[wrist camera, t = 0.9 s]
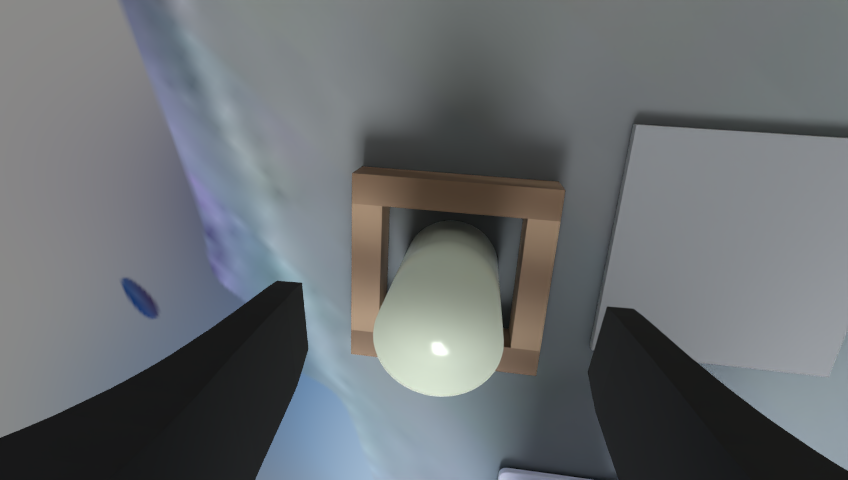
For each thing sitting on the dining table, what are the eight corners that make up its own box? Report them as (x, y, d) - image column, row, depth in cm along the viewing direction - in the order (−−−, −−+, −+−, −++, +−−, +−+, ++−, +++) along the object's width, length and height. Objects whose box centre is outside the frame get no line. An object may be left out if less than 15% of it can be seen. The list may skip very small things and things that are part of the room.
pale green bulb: (492, 310, 26) (496, 403, 18) (404, 301, 26) (372, 388, 19) (502, 225, 24) (511, 288, 16) (408, 216, 25) (374, 274, 17)
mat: (821, 371, 24) (828, 377, 24) (589, 345, 26) (591, 350, 25) (912, 142, 20) (922, 143, 20) (633, 123, 22) (636, 124, 21)
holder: (532, 355, 26) (535, 375, 24) (360, 335, 27) (351, 353, 25) (558, 181, 23) (565, 190, 21) (362, 166, 24) (352, 173, 22)
